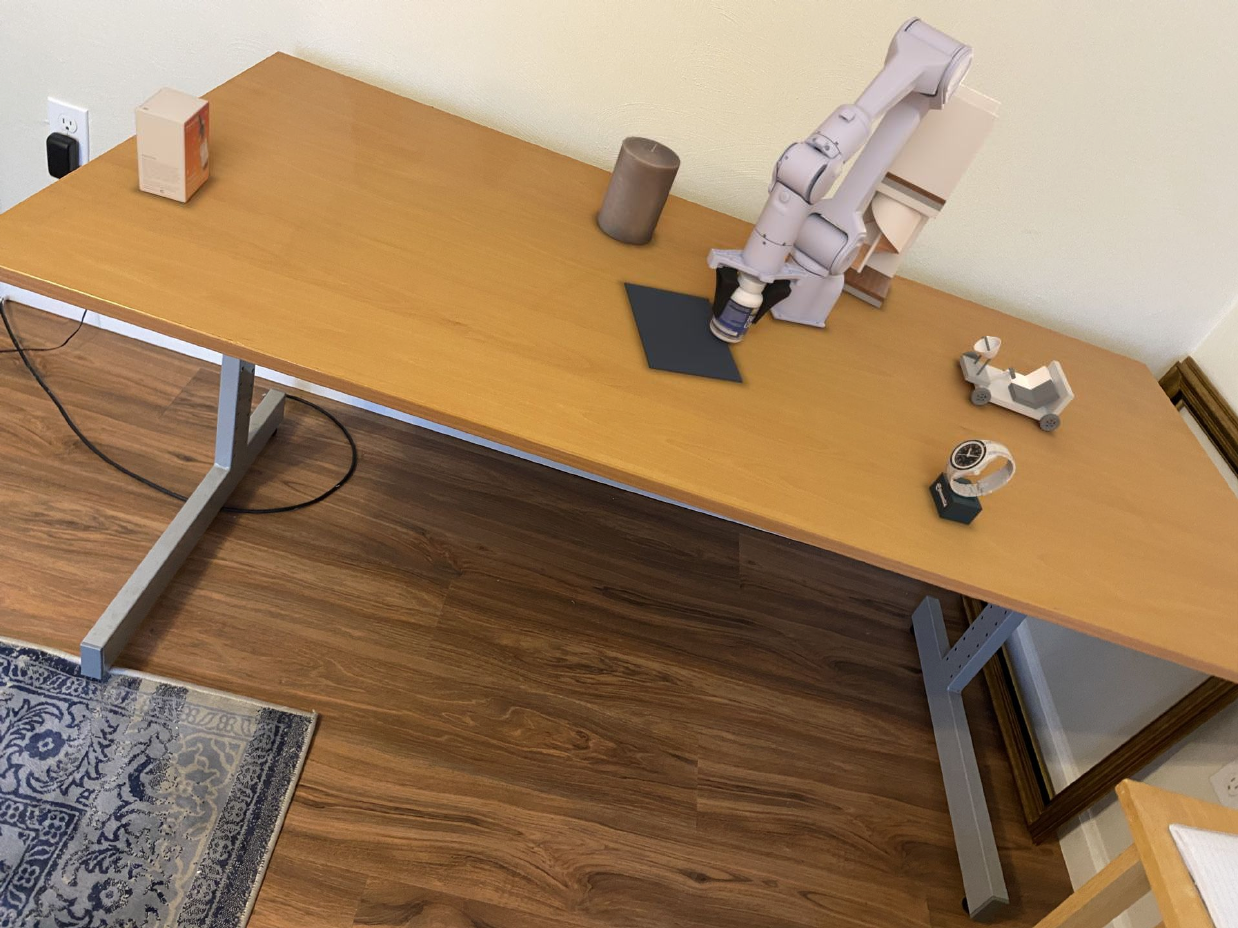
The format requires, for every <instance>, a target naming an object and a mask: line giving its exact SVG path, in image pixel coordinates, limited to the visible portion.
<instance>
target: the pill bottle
mask: <svg viewBox="0 0 1238 928" xmlns="http://www.w3.org/2000/svg"><path fill="white" fill-rule="evenodd" d="M737 275H738V278H737V280H738V282H739V284H740V286H739V287H738V288H737V289H736V291H735V292H734V293H733V295H732V296H731V298H730V299H729V301H728V303H727V305H726V307H725V309H724V311H723V313H722V314H721V316H720V317H715V316H713V318H712V320H711V323H710V328H711V331H712V332H713V333H714V334H715V335H716V336H717V337H718V338H720V339H722V340H724V341H726V342H727V343H733V344H737V343H741V342H742V341H743V340H744V338H745V337H746V335H747V333H748V331H749V329H750V327H751V325H752V321H753V319H754V317H755V315H756V314H757V312H758V310H759V308H760V306H761V304H762V301H763V296H762V294H761V292H762V291H763V289H764V287H765V285H766V283H767V282H763V281H761V280H760V279H759V278H758V277H756V276H754V275H751V274H748V273H743V272H738V274H737Z"/></svg>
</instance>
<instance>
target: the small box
mask: <svg viewBox="0 0 1238 928" xmlns="http://www.w3.org/2000/svg"><path fill="white" fill-rule="evenodd" d="M134 118H135V135H136V137H135V138H136V153H137V168H138V171H137V172H138V185H139V191H142V192H145V193H148V194H153V195H157V196H159V197H163V198H167V199H170V200H174V201H177V202H181V203H187V202H188V201H189V199H190V198H191V197H192V196H193V195H194V194H195V193H196V192H197V190H198V189H200V188H201V186H202V185H203V184H204V183H205V182H207V181H208V180H209V178H210V163H209V162H210V102H209V100H206V99H203V98H200V97H198V96H194V95H191V94H189V93H185V92H181V91H178V90H175V89H173V88H170V87H166V86H162V87H161V88H160V89H159V90H158V91H157V92H156V93H155V94H153V95H152V96H151V97H150V98H149V99H147V100H146V101H145V102H143V103H141V104H140V105H139V106H137V107H136V108H135V109H134Z"/></svg>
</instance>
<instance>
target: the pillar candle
mask: <svg viewBox="0 0 1238 928" xmlns="http://www.w3.org/2000/svg"><path fill="white" fill-rule="evenodd" d="M680 167H681V159H680V156H679V155H678V154H677V153H676V152H675V151H674V150H672V149H671V148H670V147H668V146H667V145H664V144H663V143H661V142H659V141H656V140H654V139H650V138H648V137H647V138H646V137H642V136H634V135H632V136H626V137H625V138H624V139H623V140H622V142H621V146H620V149H619V153H618V156H617V159H616V161H615V164H614V168H613V170H612V172H611V176H610V179H609V182H608V185H607V188H606V191H605V194H604V197H603V200H602V204H601V206H600V209H599V212H598V215H597V223H598V225H599V227H600V229H601V230H602V231H603V232H604V233H605V234H606V235H608V236H609V237H611V238H612V239H614V240H617V241H619V242H622V243H625V244H630V245H643V246H644V245H647V244H650V243H651V242H652V239H653V236H654V233H655V231H656V228H657V226H658V223H659V220H660V218H661V215H662V213H663V210H664V208H665V205H666V203H667V201H668V198H669V194H670V192H671V190H672V187H673V185H674V182H675V179H676V177H677V175H678V172H679V169H680Z"/></svg>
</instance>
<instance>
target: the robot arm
mask: <svg viewBox="0 0 1238 928" xmlns="http://www.w3.org/2000/svg"><path fill="white" fill-rule="evenodd" d="M974 50H975V49H974V47H973V46H972V45H969V44H965V43H964V42H961V41H959V40H958V39H956V38H954V37H952V36H950V35H948V34H946V33H945V32H943V31H941V30H939V29H937V28H936V27H934V26H932V25H930V24H929V23H928V22H927V23H926V22H925V21H923V20H922V18H920V17H918V16H912V17H910V18H909V19H907V20H906V21H904V22H903V23H901V25H900V26H899V28H898V29H897V30H896V32H895V33H894V35H893V37H892V38H891V41H890V43H889V45H888V49H887V53H886V56H885V59H884V63H883V67H882V68H881V70H880V71H879V72H878V73H877V74H876V76H875V77H874V78H873V79H872V80H871V82H870V83H869V84H868V85H867V87H866V88H865V89H864V90H863V91H862V92H861V94H860V95H859V96H858V97H857V98H856V99H855V101H854V102H853V103H842V104H840V105H838V106H837V108H836V109H834V110H833V111H832V112H831V113H830V114H829V115H828V117H827V118H825V120H824V121H822V123H821V124H819V126H818V127H816V128H815V129H814V131H812V132H811V134H809V136H808V137H807V138H806V139H804V140H802V141H800V142H798V141H794V142H792V143H791V144H789V145H788V146H786V147H785V149H784V150H783V151H782V153H781V154H780V156H779V157H778V159H777V160H776V162H775V164H774V166H773V169H772V175H771V176H772V177H771V182H770V184H769V185H768V188H767V193H768V198H767V199H766V202H765V204H764V206H763V208H762V210H761V212H760V213H759V217H758V218H757V221H756V222H755V225H754V227H753V229H752V231H751V233H750V235H749V237H748V240H747V242H746V244H745V245H744V247H743V249H720V248H719V249H718V248H712V247H711V249H710V251H709V253H708V255H707V258H706V263H707V266H708V267H709V269H713V270H715V288H714V289H715V291H714V298H713V303H712V311H713V313H714V316H715V317H720V316H721V314H722V313H723V311H724V309H725V307H726V305H727V303H728V301H729V299H730V298H731V296H732V295H733V293H734V292H735V291H736V289H737V288H738V287H739V286H740V284H739V282H738V280H737V278H738V275H739V273H740V272H743V273H748V274H751V275H754V276H756V277H758V278H759V279H760V280H761V281H763V282H767V283H766V285H765V287H764V289H763V291H762V292H761V294H762V296H763V301H762V304H761V306H760V308H759V310H758V312H757V314H756V315H755V317H754V319H753V321H752V323H751V325H753V324H754V325H757V324H758V323H759V321H760V320H761V319H763V317H764V316H765V315H766V314H767V313H768V312H769V311H770V313H771V315H772V317H773V318H774V319H775V320H781V321H785V322H790V323H791V322H792V323H797V324H801V325H806V326H812V327H817V328H822V329H824V328H825V327H826V324H825V322H826V320H827V318H828V316H829V315H830V313H831V311H832V310H833V308H834V307H835V304H836V303H837V301H838V300H839V298H840V296H841V294H842V292H843V285H844V274H843V273H844V272H845V271H846V270H847V269H848V268H849V267H850V265H851V264H852V263H853V261H854V260H855V258H856V257H857V255H858V253H859V250H860V248H861V246H862V244H863V242H864V241H865V239H866V236H867V232H866V228H865V225H864V222H863V219H862V215H861V212H862V210H863V209H864V207H865V206H866V204H867V202H868V201H869V199H870V198H871V196H872V195H873V193H874V192H875V190H876V189H877V187H878V186H879V184H880V183H881V181H882V180H883V178H884V177H885V175H886V173H887V172H888V170H889V169H890V167H891V166H892V164H893V163H894V161H895V160H896V158H897V157H898V155H899V154H900V152H901V151H902V149H903V148H904V146H905V144H906V143H907V141H908V140H909V138H910V137H911V135H912V134H913V132H914V131H915V129H916V128H917V126H918V125H919V123H920V122H921V120H922V119H923V118H924V117H925V115H926V114H927V113H928V112H929V110H942V109H943V108H944V106H945V105H946V104H947V103H948V102H949V101H950V99H951V98H952V96H953V95H954V93H955V92H956V90H957V89H958V87H959V86H960V84H963V81H964V79H966V77H967V75H968V73H969V72H970V70H971V66H972V64H973V61H974V58H975V57H974V56H975V55H974V54H975V53H974V52H975V51H974ZM882 116H883V117H882ZM880 118H881V120H880V122H879V123H878V125H877V126H876V127H875V129H874V131H873V124H874V123H875V122H876V121H878V120H879V119H880ZM863 146H864V147H863ZM862 147H863V149H861V148H862ZM860 149H861V152H860V153H859V155H858V156H857V158H856V160H855V161H854V162H853V164H852V166H851V168H850V169H849V170H848V172H847V174H846V175H845V177H844V178H843V180H842V182H841V183H840V185H839V186H838V188H837V189H836V191H835V193H834V195H833V196H832V197H830V198H824V197H826V195H827V194H828V193H829V192H830V190H831V189H832V187H833V185H834V184H835V183H836V180H837V179H838V178H839V177H840V175H841V174H842V172H843V167H844V166H845V165H846V164H847V162H848V161H850V159H851V158H853V156H855V155H856V153H857V152H858V151H859V150H860ZM846 232H847V233H846ZM789 254H790V256H789ZM788 256H789V258H788V260H787V262H786V259H787V257H788Z"/></svg>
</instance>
